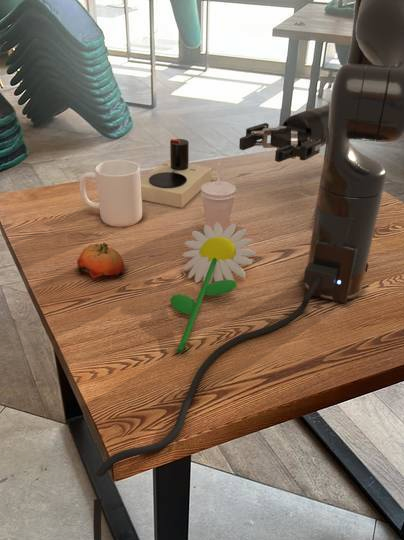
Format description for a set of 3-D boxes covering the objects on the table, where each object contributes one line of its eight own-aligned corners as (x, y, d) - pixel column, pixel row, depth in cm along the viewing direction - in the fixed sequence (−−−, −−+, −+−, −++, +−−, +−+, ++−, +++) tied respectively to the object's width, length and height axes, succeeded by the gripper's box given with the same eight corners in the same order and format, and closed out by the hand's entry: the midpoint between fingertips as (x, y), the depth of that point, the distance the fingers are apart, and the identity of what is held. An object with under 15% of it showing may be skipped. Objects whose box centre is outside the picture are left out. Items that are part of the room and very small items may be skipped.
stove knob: (191, 165, 128) (191, 138, 124) (184, 171, 125) (184, 144, 121) (174, 162, 129) (174, 136, 125) (167, 168, 126) (167, 142, 122)
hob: (181, 207, 118) (181, 193, 116) (134, 198, 121) (133, 183, 119) (213, 178, 130) (213, 165, 128) (169, 171, 133) (169, 157, 131)
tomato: (127, 276, 93) (94, 243, 90) (97, 302, 95) (65, 271, 93) (132, 259, 100) (102, 228, 97) (104, 283, 102) (74, 254, 99)
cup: (137, 228, 110) (134, 177, 103) (77, 224, 111) (70, 173, 104) (146, 210, 116) (143, 161, 110) (88, 206, 117) (82, 157, 111)
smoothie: (234, 230, 110) (238, 158, 101) (232, 246, 105) (237, 171, 96) (201, 228, 110) (202, 156, 102) (198, 244, 105) (199, 169, 97)
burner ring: (176, 190, 117) (176, 189, 117) (142, 184, 119) (142, 182, 119) (192, 177, 123) (192, 175, 122) (159, 171, 125) (159, 169, 125)
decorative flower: (224, 371, 81) (261, 248, 101) (223, 347, 77) (261, 224, 97) (140, 360, 84) (191, 242, 103) (134, 336, 80) (189, 219, 100)
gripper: (282, 103, 116) (230, 120, 107) (343, 118, 108) (292, 139, 99) (279, 140, 121) (228, 160, 111) (336, 158, 113) (287, 181, 104)
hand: (258, 150), depth 105 cm, fingers open, 8 cm apart
